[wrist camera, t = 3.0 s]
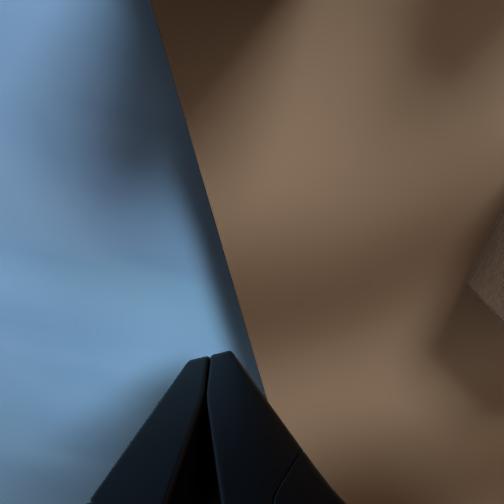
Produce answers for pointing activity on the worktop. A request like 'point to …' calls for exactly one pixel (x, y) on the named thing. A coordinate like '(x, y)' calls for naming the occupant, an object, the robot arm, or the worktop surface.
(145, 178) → the worktop surface
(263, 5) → the board
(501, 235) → the steel nut
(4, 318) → the worktop surface
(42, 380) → the worktop surface
